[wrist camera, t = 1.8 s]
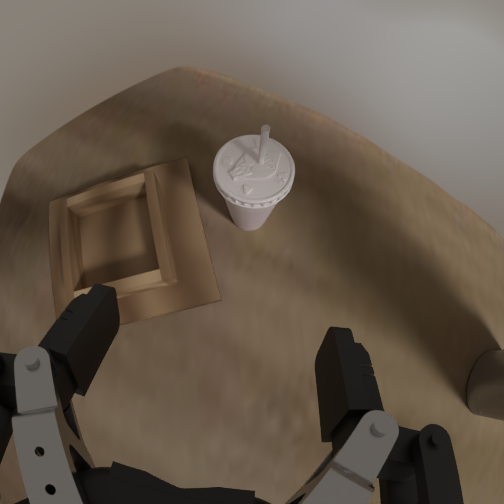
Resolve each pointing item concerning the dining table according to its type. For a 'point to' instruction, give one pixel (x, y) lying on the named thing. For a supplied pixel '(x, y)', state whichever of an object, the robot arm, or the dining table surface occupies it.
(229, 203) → the smoothie
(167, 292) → the open wooden box
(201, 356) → the dining table surface
